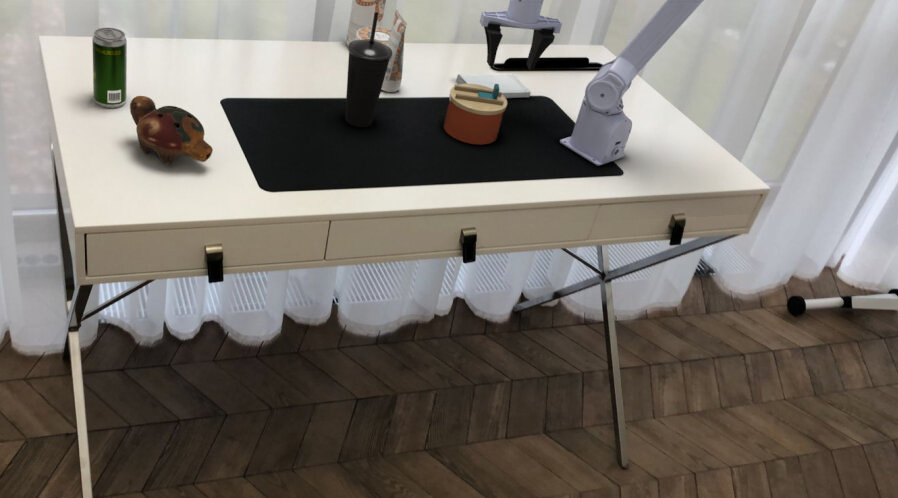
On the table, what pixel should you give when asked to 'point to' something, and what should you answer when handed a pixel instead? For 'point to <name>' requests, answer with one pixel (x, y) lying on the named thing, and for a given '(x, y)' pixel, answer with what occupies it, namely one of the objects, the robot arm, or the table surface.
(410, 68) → the table surface
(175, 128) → the decorative turtle
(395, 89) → the cosmetic set
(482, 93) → the slider
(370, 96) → the drinking cup
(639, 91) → the table surface
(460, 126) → the brown and beige cylinder
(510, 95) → the hard drive
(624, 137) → the robot arm
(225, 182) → the table surface
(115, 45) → the beer can
